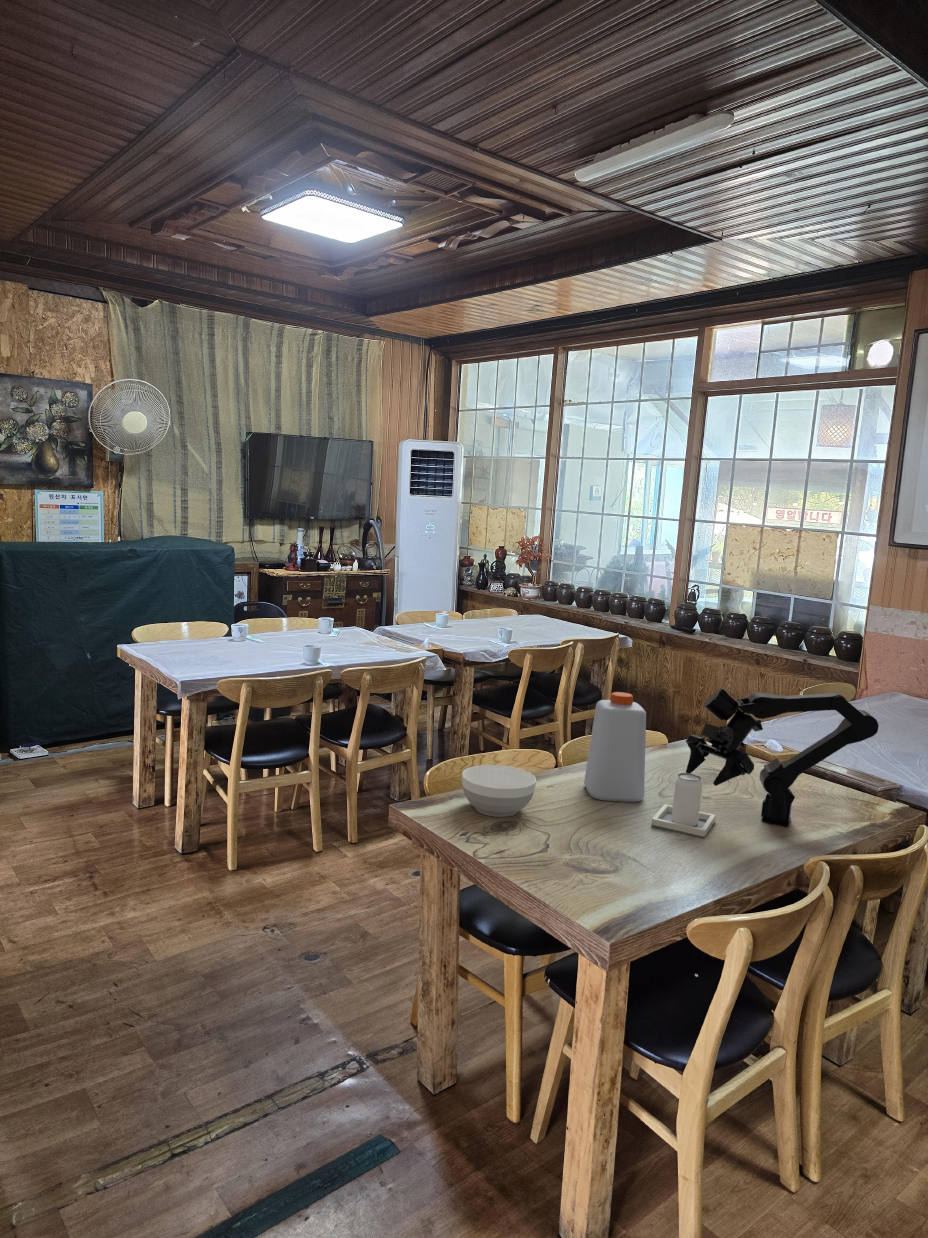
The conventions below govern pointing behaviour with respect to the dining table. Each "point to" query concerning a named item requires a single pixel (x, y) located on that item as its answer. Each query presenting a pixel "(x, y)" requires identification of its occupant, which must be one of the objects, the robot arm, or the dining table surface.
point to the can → (687, 799)
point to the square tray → (700, 830)
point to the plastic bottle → (617, 750)
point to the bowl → (498, 789)
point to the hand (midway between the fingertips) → (700, 779)
